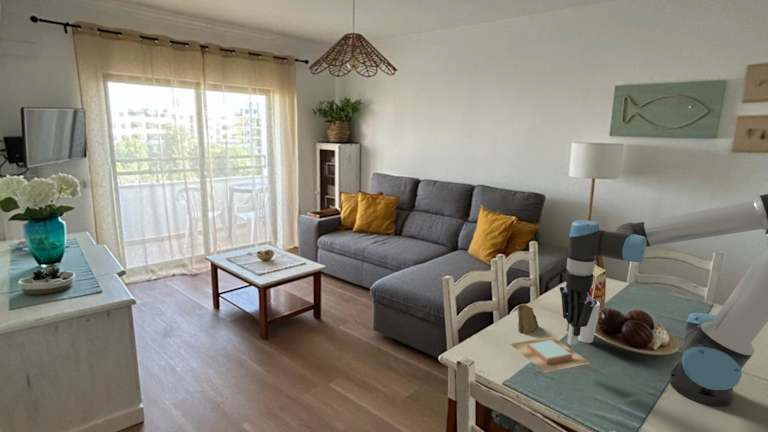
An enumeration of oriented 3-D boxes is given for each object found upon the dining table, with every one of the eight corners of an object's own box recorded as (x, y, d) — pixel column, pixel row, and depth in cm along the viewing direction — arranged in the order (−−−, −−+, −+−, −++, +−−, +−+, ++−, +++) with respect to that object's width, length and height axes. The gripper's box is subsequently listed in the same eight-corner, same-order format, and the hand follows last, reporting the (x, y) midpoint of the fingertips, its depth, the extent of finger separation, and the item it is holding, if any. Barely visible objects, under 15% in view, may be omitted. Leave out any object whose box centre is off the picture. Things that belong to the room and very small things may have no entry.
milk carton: (573, 305, 178) (578, 261, 174) (588, 302, 182) (594, 258, 178) (591, 314, 170) (598, 268, 166) (607, 310, 174) (613, 265, 170)
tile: (572, 354, 136) (551, 339, 146) (547, 359, 133) (527, 343, 142) (571, 358, 137) (550, 343, 146) (546, 363, 134) (527, 348, 143)
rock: (532, 314, 164) (509, 313, 162) (543, 304, 158) (520, 303, 155) (541, 340, 157) (517, 340, 155) (553, 330, 151) (529, 330, 148)
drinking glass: (573, 342, 148) (578, 303, 145) (575, 334, 154) (579, 296, 151) (594, 347, 145) (600, 307, 142) (595, 338, 151) (600, 300, 148)
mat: (590, 364, 134) (590, 363, 134) (544, 374, 129) (544, 372, 129) (552, 337, 151) (552, 336, 151) (509, 345, 145) (510, 343, 145)
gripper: (607, 277, 120) (598, 352, 125) (574, 263, 132) (567, 332, 137) (586, 280, 117) (578, 356, 122) (554, 266, 129) (548, 335, 134)
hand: (572, 343), depth 129 cm, fingers closed
